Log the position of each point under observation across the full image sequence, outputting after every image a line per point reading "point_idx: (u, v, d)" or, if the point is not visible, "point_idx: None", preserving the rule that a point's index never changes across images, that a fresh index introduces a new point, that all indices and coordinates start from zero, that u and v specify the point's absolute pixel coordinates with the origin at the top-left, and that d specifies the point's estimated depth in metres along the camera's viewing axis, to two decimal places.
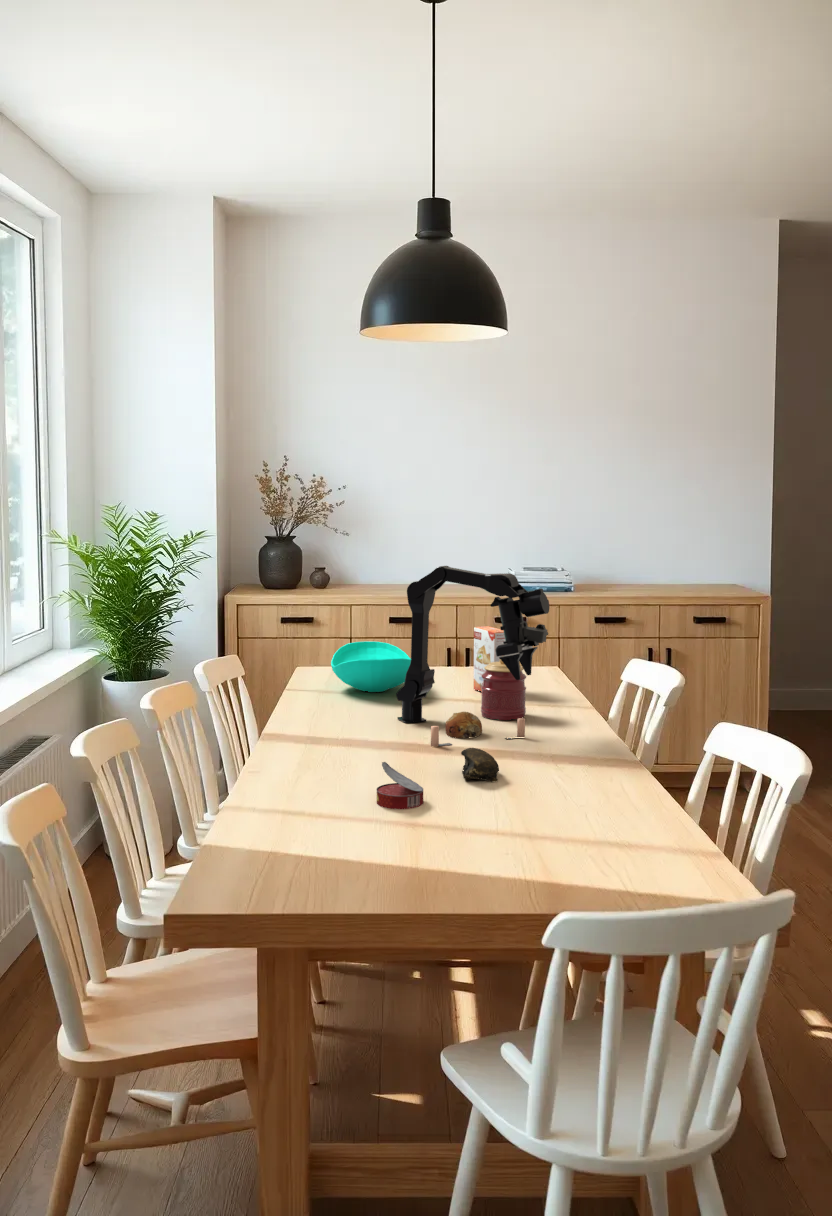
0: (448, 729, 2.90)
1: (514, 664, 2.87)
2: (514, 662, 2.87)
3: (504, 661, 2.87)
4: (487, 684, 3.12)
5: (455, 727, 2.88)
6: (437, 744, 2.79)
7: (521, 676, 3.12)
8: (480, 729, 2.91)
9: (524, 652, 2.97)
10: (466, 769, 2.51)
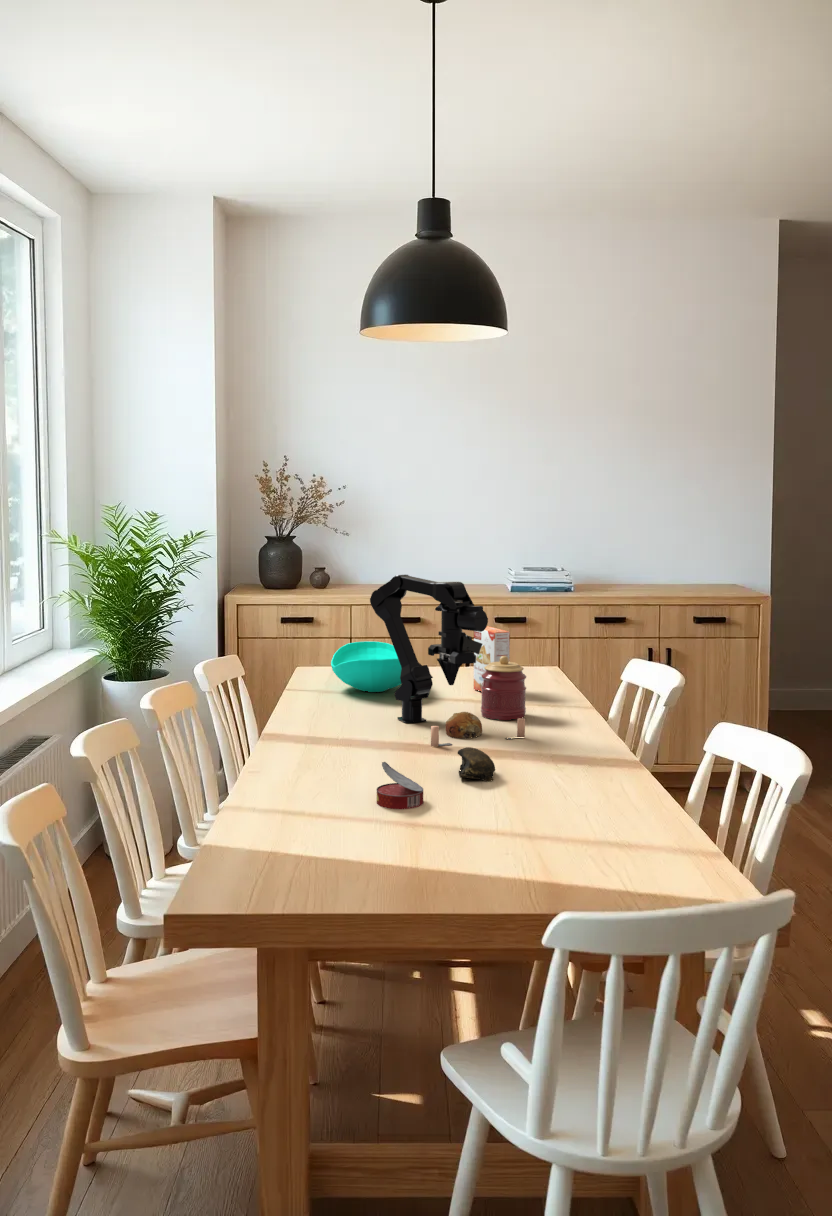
0: (448, 729, 2.90)
1: (454, 670, 2.97)
2: (454, 668, 2.97)
3: (447, 666, 2.95)
4: (487, 684, 3.12)
5: (455, 727, 2.88)
6: (437, 744, 2.79)
7: (521, 676, 3.12)
8: (480, 729, 2.91)
9: None
10: (462, 768, 2.51)
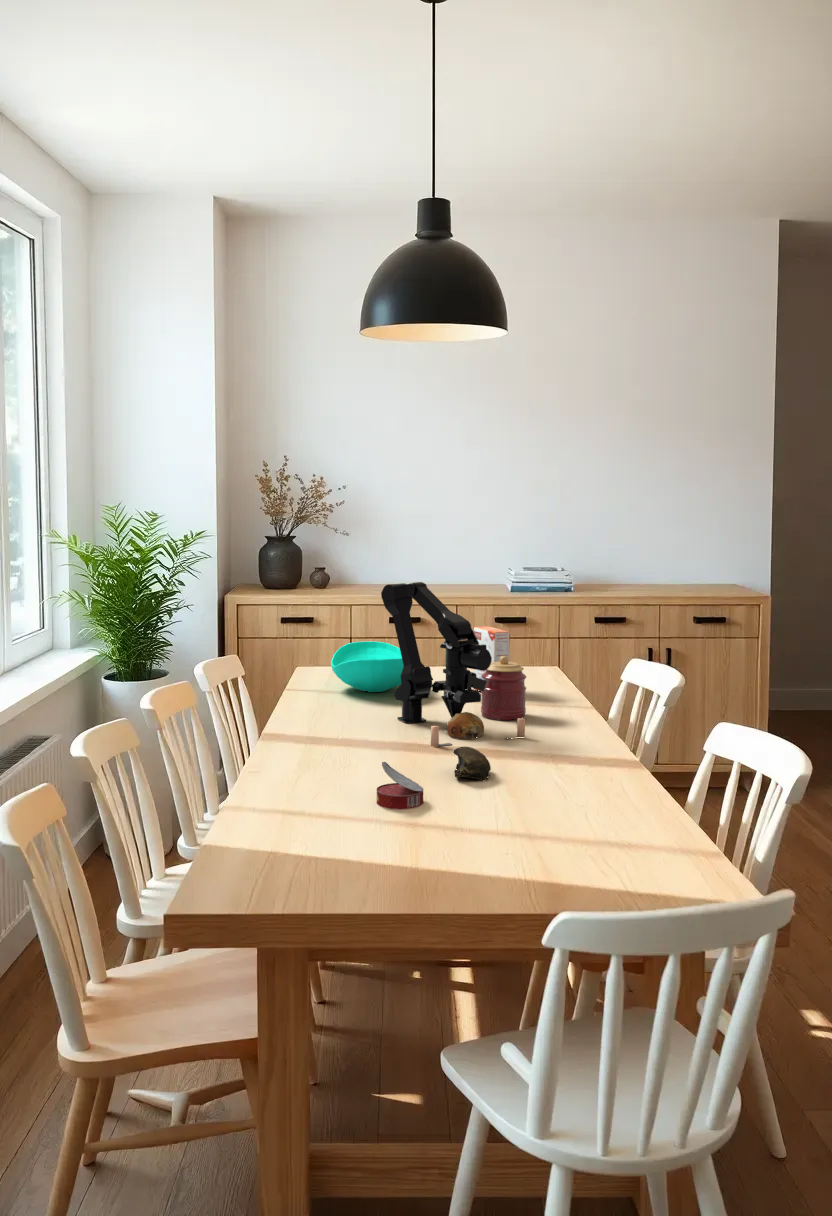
0: (450, 730, 2.89)
1: (458, 708, 2.95)
2: (459, 706, 2.95)
3: (452, 704, 2.94)
4: (487, 684, 3.12)
5: (457, 727, 2.87)
6: (437, 744, 2.79)
7: (521, 676, 3.12)
8: (482, 730, 2.90)
9: None
10: (458, 768, 2.52)
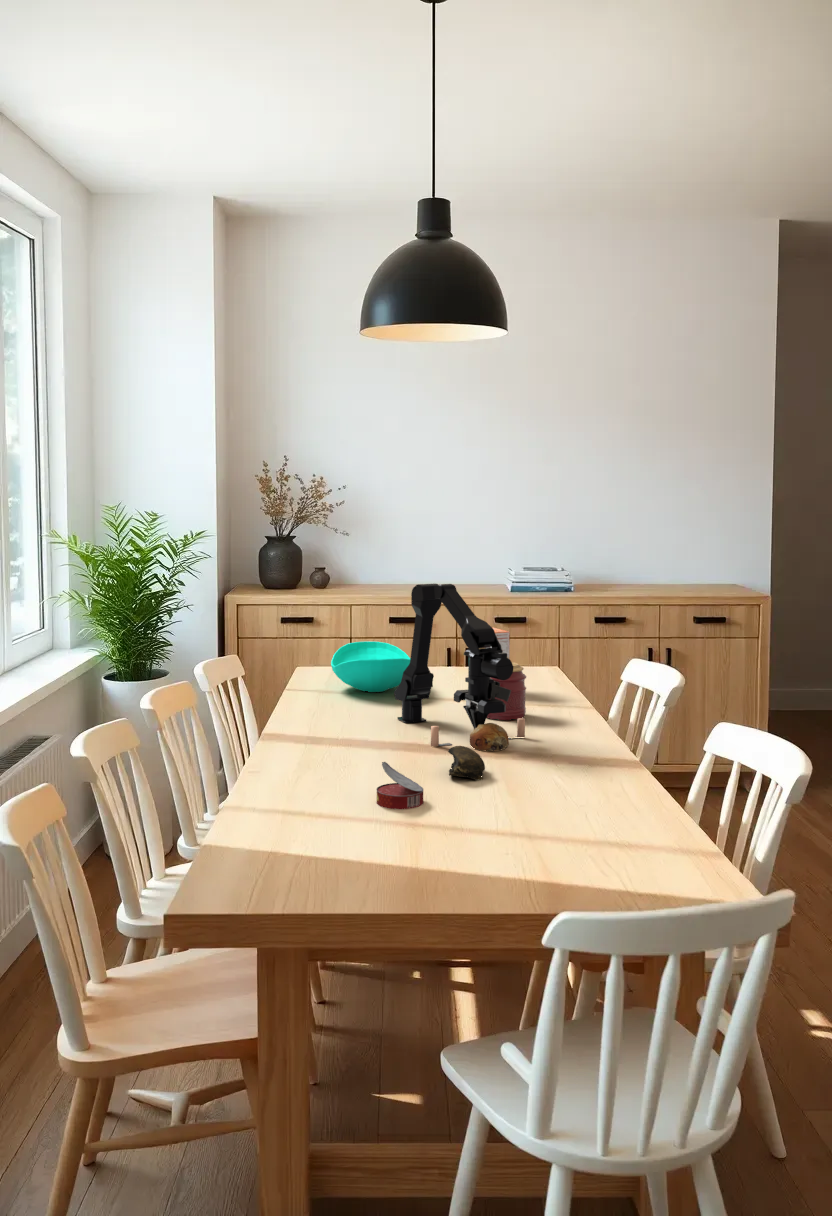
0: (474, 742, 2.76)
1: (481, 718, 2.83)
2: (482, 716, 2.83)
3: (475, 714, 2.81)
4: None
5: (482, 739, 2.75)
6: (437, 744, 2.79)
7: (521, 676, 3.12)
8: (507, 741, 2.77)
9: None
10: (453, 767, 2.53)
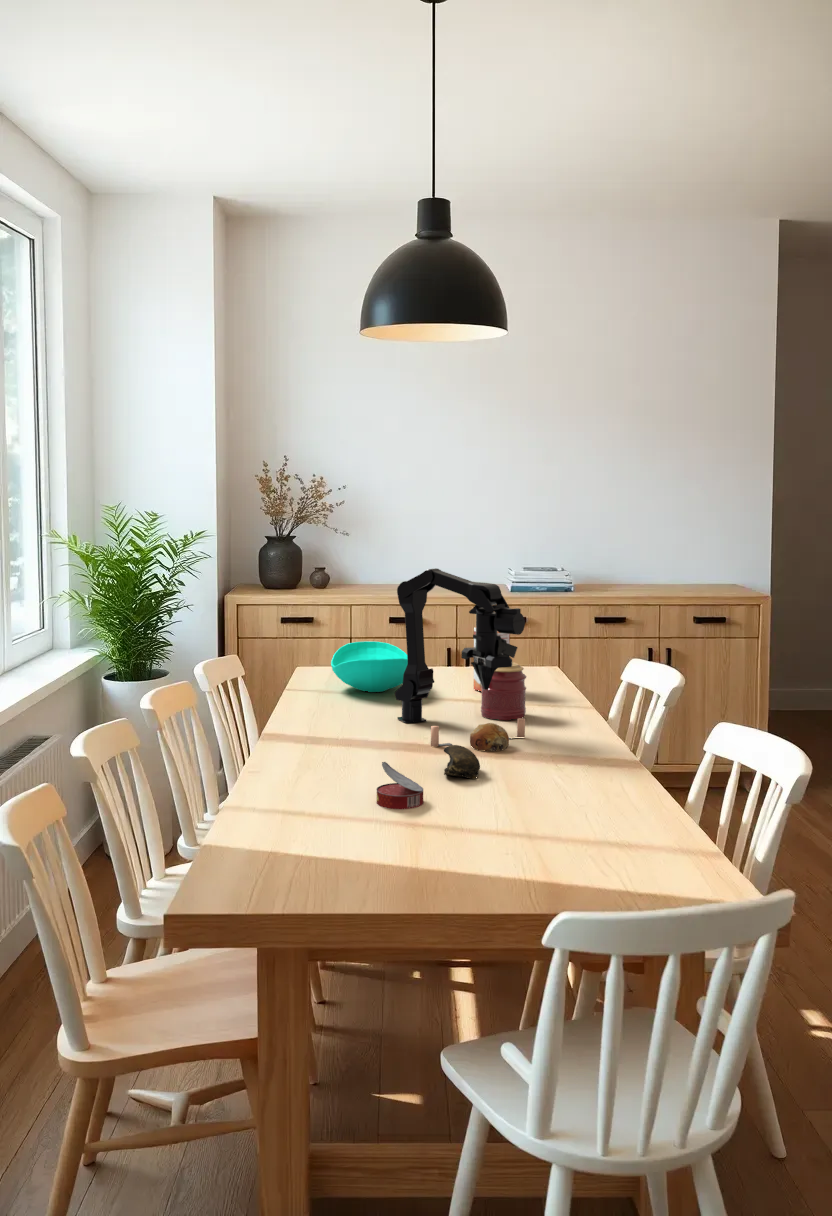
0: (474, 742, 2.76)
1: (489, 674, 2.91)
2: (489, 672, 2.91)
3: (482, 670, 2.89)
4: None
5: (482, 739, 2.74)
6: (437, 744, 2.79)
7: (521, 676, 3.12)
8: (507, 741, 2.77)
9: None
10: (448, 766, 2.53)
